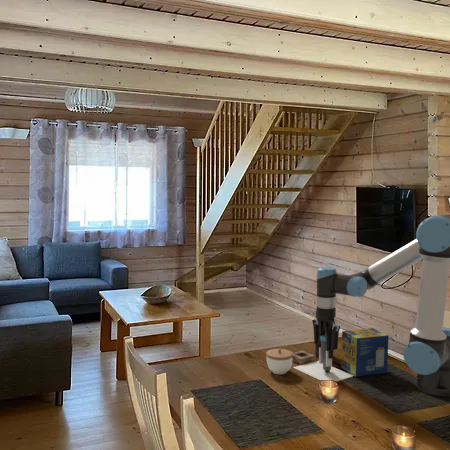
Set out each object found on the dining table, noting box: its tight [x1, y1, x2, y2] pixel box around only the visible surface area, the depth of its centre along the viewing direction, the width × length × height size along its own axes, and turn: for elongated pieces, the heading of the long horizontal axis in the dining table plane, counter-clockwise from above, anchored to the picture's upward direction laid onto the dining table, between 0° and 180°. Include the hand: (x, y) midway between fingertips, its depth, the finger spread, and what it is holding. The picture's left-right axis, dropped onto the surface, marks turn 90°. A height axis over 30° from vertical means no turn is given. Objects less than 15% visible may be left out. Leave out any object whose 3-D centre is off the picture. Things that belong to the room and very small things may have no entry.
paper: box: [293, 360, 354, 383], centre depth 197 cm, size 20×14×1 cm
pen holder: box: [292, 350, 316, 366], centre depth 211 cm, size 8×8×2 cm
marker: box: [320, 334, 331, 373], centre depth 196 cm, size 3×3×15 cm
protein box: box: [340, 328, 389, 377], centre depth 198 cm, size 10×15×16 cm
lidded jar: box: [265, 348, 294, 375], centre depth 198 cm, size 11×11×9 cm
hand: (325, 364), depth 196 cm, fingers closed on marker, 3 cm apart
